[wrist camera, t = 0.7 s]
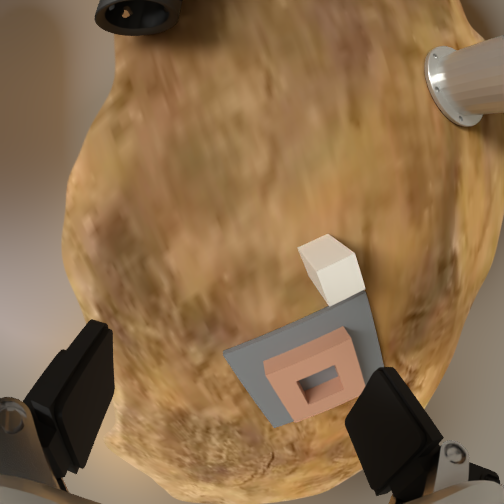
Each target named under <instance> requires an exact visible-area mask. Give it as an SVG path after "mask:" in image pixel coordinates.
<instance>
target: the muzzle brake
mask: <svg viewBox="0 0 504 504" xmlns="http://www.w3.org/2000/svg"><path fill="white" fill-rule="evenodd" d="M181 4H182V0H100V1H99V4H98V7H97V10H96V14H95V22H96V24H97V25H98V26H99V27H100V28H102V29H103V30H105V31H108V32H111V33H114V34H119V35H127V36H140V35H149V34H156V33H160V32H163V31H165V30H167V29H169V28H171V27H173V26H174V25H175V24H176V23H177V21H178V18H179V14H180V9H181ZM124 10H127V11H128V12H129V14H130V16H129V17H127V18H123V17H122V15H123V13H124Z"/></svg>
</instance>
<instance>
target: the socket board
mask: <svg viewBox="0 0 504 504" xmlns="http://www.w3.org/2000/svg"><path fill="white" fill-rule="evenodd" d="M223 356H224V357H225V359H226V360H227V362H228V363H229V365H230V366H231V368H232V369H233V371H234V372H235V374H236V375H237V377H238V378H239V380H240V381H241V383H242V384H243V386H244V387H245V388H246V390H247V391H248V393H249V394H250V396H251V397H252V398H253V400H254V401H255V403H256V404H257V405H258V407H259V408H260V409H261V411H262V412H263V414H264V415H265V416H266V418H267V419H268V420H269V422H270V423H271V424H272V426H273V427H274V428H276V427H279V426H282V425H284V424H287V423H290V422H293V421H294V422H295V423H296V422H299V421H301V420H304V419H307V418H309V417H312V416H314V415H317V414H319V413H322V412H324V411H327V410H329V409H331V408H334V407H336V406H338V405H340V404H343V403H345V402H347V401H349V400H351V399H353V398H356V397H358V396H360V394H361V393H362V391H363V389H364V388H365V386H366V384H367V383H368V381H369V379H370V377H371V375H372V374H373V372H374V371H376V370H377V369H378V368H379V367H384V365H383V360H382V355H381V351H380V346H379V342H378V338H377V333H376V329H375V325H374V321H373V317H372V313H371V309H370V306H369V302H368V298H367V295H366V292H365V291H364V290H362V291H360V292H358V293H356V294H354V295H352V296H350V297H348V298H346V299H344V300H342V301H340V302H338V303H336V304H334V305H332V306H330V307H329V306H328V307H326V308H323V309H321V310H319V311H317V312H315V313H313V314H311V315H308V316H306V317H304V318H302V319H300V320H297V321H295V322H293V323H290V324H288V325H286V326H284V327H281V328H279V329H277V330H274V331H272V332H269V333H267V334H265V335H262V336H260V337H257V338H255V339H252V340H250V341H247V342H245V343H242V344H240V345H237V346H235V347H232V348H230V349H227V350H224V351H223Z"/></svg>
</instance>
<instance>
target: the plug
mask: <svg viewBox="0 0 504 504" xmlns="http://www.w3.org/2000/svg"><path fill="white" fill-rule="evenodd" d="M298 251H299V253H300V255H301V258H302V260H303V263H304V265H305V268H306V270H307V273H308V275H309V277H310V279H311V280H312V282H313V283H314V285H315V286H316V288H317V289H318V291H319V292H320V293H321V295H322V296H323V298H324V299H325V301H326V302H327V304H328V305H329V307H330V306H332V305H334V304H336V303H338V302H340V301H342V300H344V299H346V298H348V297H350V296H352V295H354V294H356V293H358V292H360V291H362V290H364V289H365V285H364V282H363V278H362V275H361V272H360V268H359V265H358V262H357V259H356V255H355V253H354V252H352V251H351V250H350V249H348V248H347V247H346V246H344V245H343V244H342V243H340V242H339V241H337V240H336V239H335V238H333V237H332V236H331V235H329V234H326V235H324V236H322V237H320V238H317V239H315V240H313V241H311V242H309V243H307V244H304V245H302V246H300V247H298Z"/></svg>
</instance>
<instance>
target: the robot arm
mask: <svg viewBox="0 0 504 504" xmlns="http://www.w3.org/2000/svg"><path fill="white" fill-rule="evenodd" d="M425 77H426V81H427V85H428V88H429V90H430V93H431V95H432V97H433V99H434V101H435V103H436V104H437V106H438V107H439V109H440V110H441V111H442V112H443V114H444V115H445V116H446V117H447V118H448V119H449V120H451V121H452V122H454V123H455V124H457V125H460V126H465V127H467V126H473V125H476V124H477V123H478V122H479V121H480V120H481V118H482V116H483V114H492V113H504V35H502V36H499V37H496V38H492V39H489V40H486V41H483V42H480V43H477V44H474V45H472V46H469V47H466V48H463V49H461V50H458V51H456V50H454V49H453V48H450V47H447V46H440V47H436V48H434V49H432V50H431V51H430V52H429V53H428V55H427V57H426V60H425ZM114 389H115V385H114V368H113V332H112V330H111V329H108V325H107V324H106V323H102V322H99V321H96V320H93V319H92V320H90V321H89V322H88V323H87V324H86V326H85V327H84V328H83V329H82V331H81V332H80V333H79V335H78V336H77V337H76V338H75V340H74V341H73V342H72V343H71V345H70V346H69V347H68V349H67V350H61V351H60V352H59V353H58V354H57V355H56V356H55V358H54V359H53V360H52V362H51V363H50V364H49V366H48V367H47V368H46V370H45V371H44V372H43V374H42V375H41V376H40V378H39V379H38V380H37V382H36V383H35V385H34V386H33V388H32V389H31V390H30V392H29V393H28V395H27V396H26V398H25V399H24V400H23V402H22V401H20V400H19V399H16V398H13V397H3V398H0V504H100V503H97V502H94V501H92V500H88V499H85V498H82V497H79V496H77V495H74V494H71V493H69V491H68V489H67V487H66V484H65V482H64V480H63V478H62V477H65V475H66V473H67V470H68V471H70V472H72V473H75V474H77V472H78V469H79V468H82V469H83V468H84V467H85V465H86V463H87V460H88V457H89V454H90V452H91V449H92V446H93V444H94V441H95V438H96V436H97V434H98V431H99V429H100V426H101V424H102V421H103V419H104V416H105V414H106V411H107V409H108V406H109V404H110V402H111V400H112V397H113V394H114ZM345 426H346V429H347V431H348V433H349V436H350V438H351V441H352V443H353V445H354V448H355V450H356V453H357V455H358V458H359V460H360V463H361V465H362V468H363V470H364V472H365V475H366V477H367V480H368V482H369V485H370V487H371V489H373V490H374V491H375V493H376V496H378V495H382V494H386V493H388V492H390V491H391V490H392V493H393V494H392V496H391V499H390V502H389V504H504V485H502V484H501V485H500V480H499V476H498V475H497V473H495V472H493V471H491V470H489V469H486V468H483V467H481V466H478V465H475V464H473V463H470V462H469V454H468V452H467V450H466V448H465V447H464V446H463V445H462V444H460V443H458V442H456V441H452V440H449V441H446V442H444V443H443V444H442V445H441V446H439V442H440V441H441V440H442V439H443V436H442V435H441V433H440V432H439V430H438V429H437V427H436V426H435V425H434V423H433V421H432V420H431V419H430V417H429V416H428V414H427V413H426V412H425V410H424V409H423V407H422V406H421V404H420V403H419V401H418V400H417V399H416V397H415V396H414V394H413V393H412V392H411V390H410V389H409V387H408V386H407V385H406V383H405V382H404V381H403V379H402V378H401V377H400V375H399V374H398V372H397V371H396V370H395V369H394V368H393V367H379V368H378V369H377V370H376V371H374V372H373V374H372V375H371V377H370V379H369V381H368V383H367V384H366V386H365V388H364V389H363V391H362V393H361V394H360V396H359V398H358V399H357V401H356V403H355V404H354V406H353V407H352V409H351V411H350V412H349V414H348V415H347V417H346V419H345Z"/></svg>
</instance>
